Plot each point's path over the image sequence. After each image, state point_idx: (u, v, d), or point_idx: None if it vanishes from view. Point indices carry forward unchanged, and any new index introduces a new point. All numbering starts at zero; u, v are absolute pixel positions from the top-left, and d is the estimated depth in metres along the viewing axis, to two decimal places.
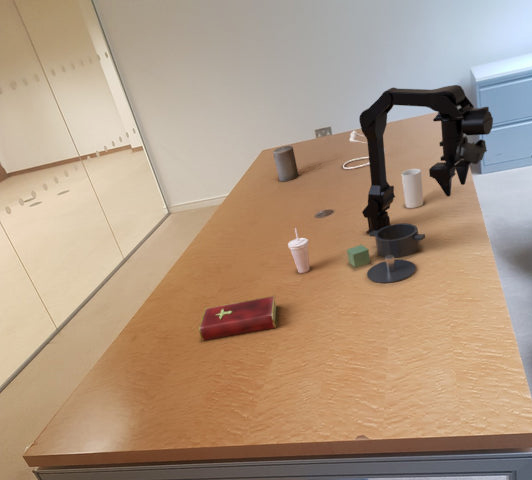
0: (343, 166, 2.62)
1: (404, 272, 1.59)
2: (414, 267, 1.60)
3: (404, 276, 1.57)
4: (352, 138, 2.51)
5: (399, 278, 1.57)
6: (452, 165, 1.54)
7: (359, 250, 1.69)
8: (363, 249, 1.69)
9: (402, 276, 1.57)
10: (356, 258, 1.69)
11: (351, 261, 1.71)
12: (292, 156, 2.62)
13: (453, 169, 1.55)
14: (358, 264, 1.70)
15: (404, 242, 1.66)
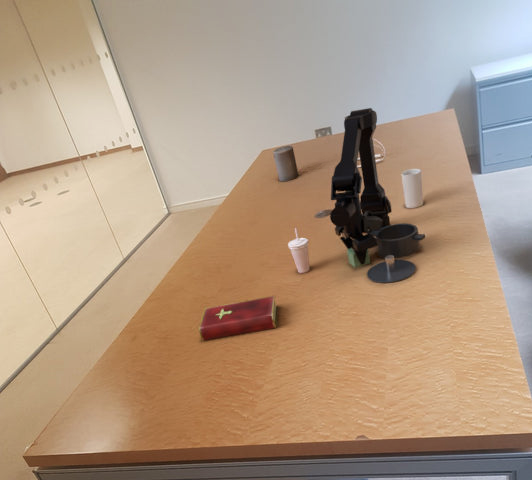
0: None
1: (404, 272, 1.59)
2: (414, 267, 1.60)
3: (404, 276, 1.57)
4: None
5: (399, 278, 1.57)
6: None
7: None
8: None
9: (402, 276, 1.57)
10: (356, 258, 1.69)
11: (351, 261, 1.71)
12: (292, 156, 2.62)
13: None
14: (358, 264, 1.70)
15: (404, 242, 1.66)
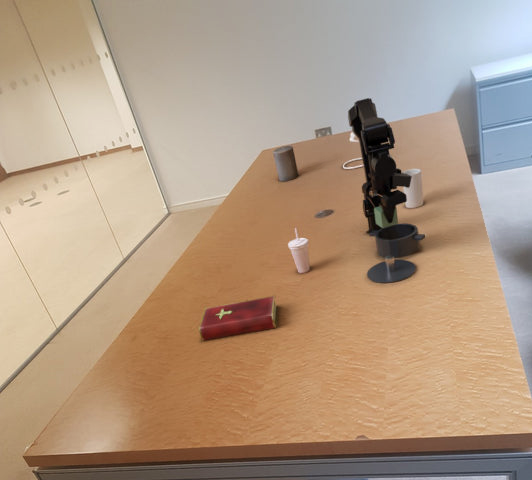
0: (343, 166, 2.62)
1: (404, 272, 1.59)
2: (414, 267, 1.60)
3: (404, 276, 1.57)
4: (352, 138, 2.51)
5: (399, 278, 1.57)
6: None
7: None
8: None
9: (402, 276, 1.57)
10: (384, 216, 1.65)
11: (378, 220, 1.67)
12: (292, 156, 2.62)
13: None
14: (386, 223, 1.66)
15: (404, 242, 1.66)
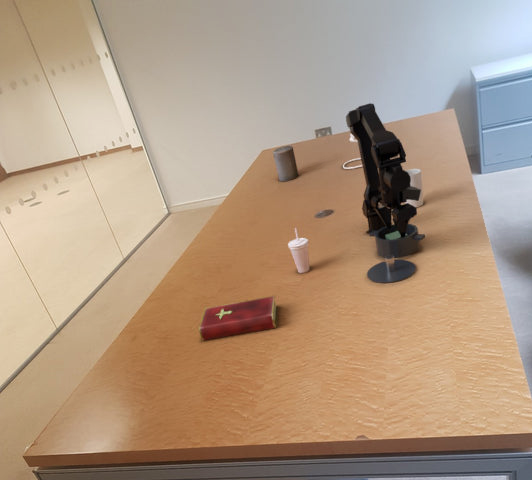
0: (343, 166, 2.62)
1: (404, 272, 1.59)
2: (414, 267, 1.60)
3: (404, 276, 1.57)
4: (352, 138, 2.51)
5: (399, 278, 1.57)
6: (411, 205, 1.61)
7: (398, 235, 1.71)
8: None
9: (402, 276, 1.57)
10: None
11: None
12: (292, 156, 2.62)
13: None
14: None
15: (404, 242, 1.66)
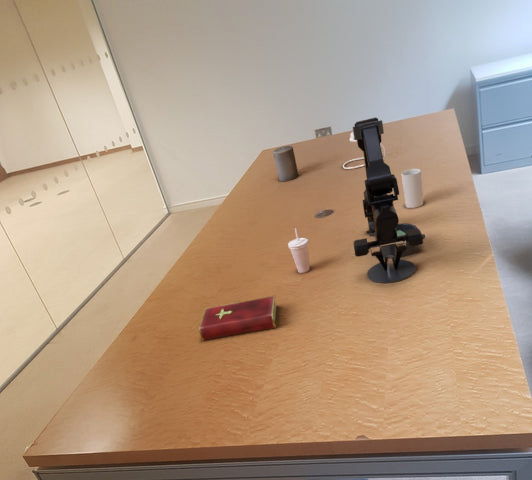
0: (343, 166, 2.62)
1: (404, 272, 1.59)
2: (414, 267, 1.60)
3: (404, 276, 1.57)
4: (352, 138, 2.51)
5: (399, 278, 1.57)
6: None
7: (398, 235, 1.71)
8: (402, 234, 1.70)
9: (402, 276, 1.57)
10: None
11: None
12: (292, 156, 2.62)
13: None
14: None
15: None
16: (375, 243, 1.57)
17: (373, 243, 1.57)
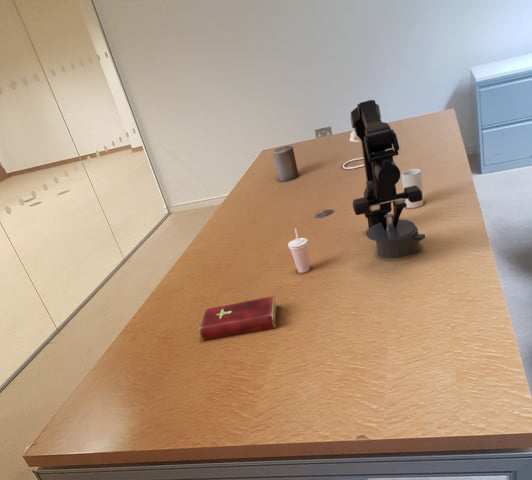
0: (343, 166, 2.62)
1: (404, 230, 1.60)
2: (413, 225, 1.61)
3: (404, 233, 1.58)
4: (352, 138, 2.51)
5: (400, 235, 1.57)
6: None
7: None
8: None
9: (402, 233, 1.58)
10: None
11: None
12: (292, 156, 2.62)
13: None
14: None
15: (404, 242, 1.66)
16: (375, 201, 1.57)
17: (373, 201, 1.58)
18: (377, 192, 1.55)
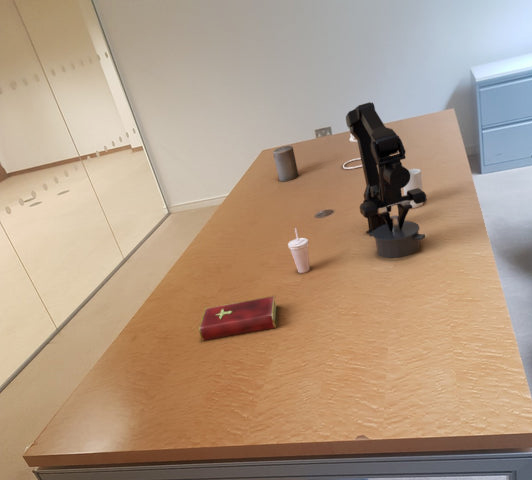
0: (343, 166, 2.62)
1: (409, 230, 1.68)
2: (417, 225, 1.70)
3: (411, 233, 1.66)
4: (352, 138, 2.51)
5: (407, 235, 1.65)
6: None
7: None
8: None
9: (409, 233, 1.66)
10: None
11: None
12: (292, 156, 2.62)
13: None
14: None
15: (404, 242, 1.66)
16: (381, 204, 1.65)
17: (380, 204, 1.65)
18: (384, 195, 1.63)
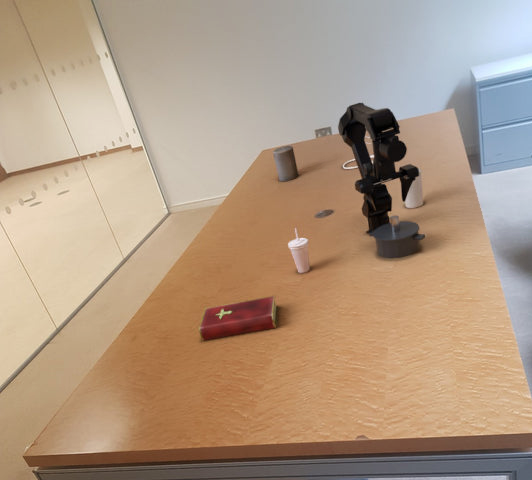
0: (343, 166, 2.62)
1: (409, 230, 1.68)
2: (417, 225, 1.70)
3: (411, 233, 1.66)
4: None
5: (407, 235, 1.65)
6: None
7: None
8: None
9: (409, 233, 1.66)
10: None
11: None
12: (292, 156, 2.62)
13: None
14: None
15: (404, 242, 1.66)
16: (376, 180, 1.69)
17: (375, 180, 1.69)
18: (379, 171, 1.67)
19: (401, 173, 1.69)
